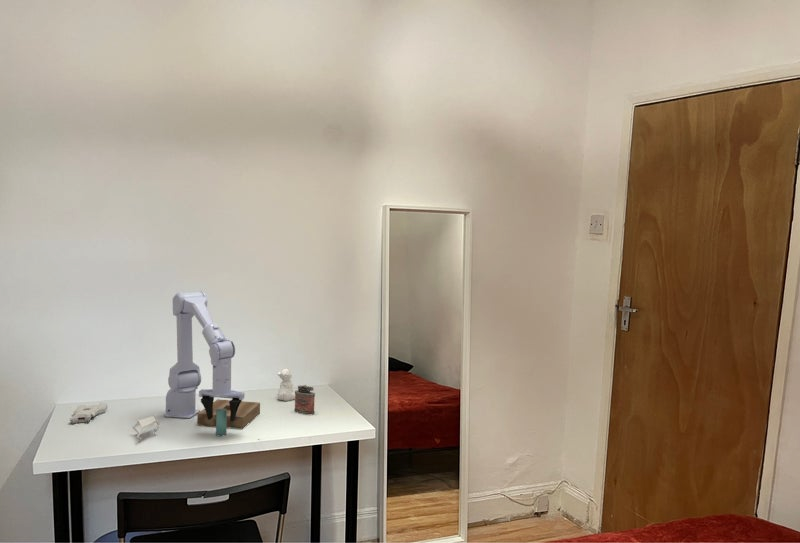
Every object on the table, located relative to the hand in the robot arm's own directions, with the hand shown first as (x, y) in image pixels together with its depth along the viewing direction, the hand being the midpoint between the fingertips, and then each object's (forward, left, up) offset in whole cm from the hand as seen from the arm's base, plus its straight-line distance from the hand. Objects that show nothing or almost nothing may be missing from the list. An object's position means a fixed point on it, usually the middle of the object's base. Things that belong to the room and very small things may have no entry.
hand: (221, 419), depth 193 cm
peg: (0, 0, -5) cm, 5 cm away
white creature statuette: (+9, +41, -5) cm, 42 cm away
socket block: (-3, +14, -5) cm, 15 cm away
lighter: (+20, +27, -5) cm, 34 cm away
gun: (-51, +7, -6) cm, 51 cm away
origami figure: (-22, -7, -5) cm, 24 cm away
